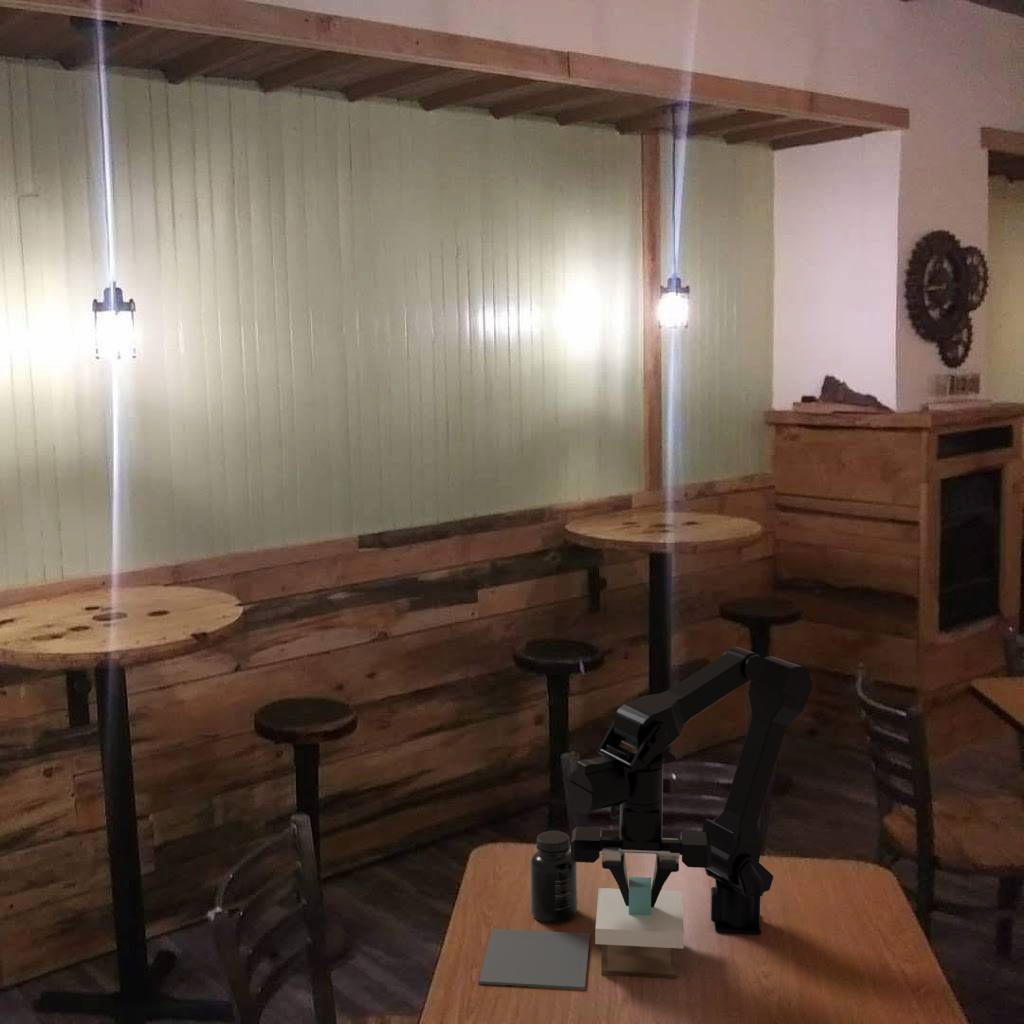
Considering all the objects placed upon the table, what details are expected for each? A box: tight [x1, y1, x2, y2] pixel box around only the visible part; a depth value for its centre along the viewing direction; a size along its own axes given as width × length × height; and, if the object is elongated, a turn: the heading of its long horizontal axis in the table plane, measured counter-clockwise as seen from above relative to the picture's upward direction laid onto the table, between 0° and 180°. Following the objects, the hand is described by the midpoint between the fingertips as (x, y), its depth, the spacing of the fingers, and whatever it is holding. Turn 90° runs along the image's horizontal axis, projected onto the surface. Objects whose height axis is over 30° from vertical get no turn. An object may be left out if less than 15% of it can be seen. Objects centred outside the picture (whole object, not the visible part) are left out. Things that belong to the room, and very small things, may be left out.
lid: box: [594, 876, 685, 949], centre depth 168 cm, size 12×12×6 cm
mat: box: [478, 928, 591, 991], centre depth 169 cm, size 14×14×1 cm
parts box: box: [600, 944, 678, 980], centre depth 169 cm, size 10×10×6 cm
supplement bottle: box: [529, 830, 578, 925], centre depth 180 cm, size 7×7×12 cm
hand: (639, 905), depth 168 cm, fingers closed on lid, 3 cm apart
